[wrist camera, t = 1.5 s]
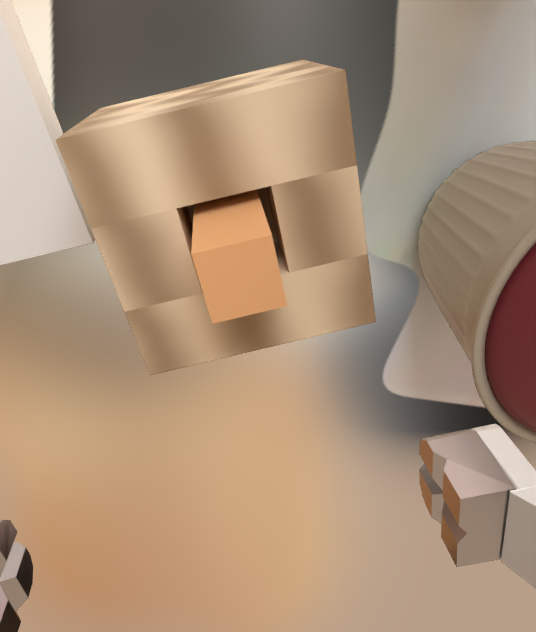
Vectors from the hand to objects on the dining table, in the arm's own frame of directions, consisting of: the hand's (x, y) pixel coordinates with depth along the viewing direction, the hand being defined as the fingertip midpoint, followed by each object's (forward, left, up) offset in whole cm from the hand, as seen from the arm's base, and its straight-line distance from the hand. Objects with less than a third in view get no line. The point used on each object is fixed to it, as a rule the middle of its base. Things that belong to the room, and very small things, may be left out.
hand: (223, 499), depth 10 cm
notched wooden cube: (-1, +2, -31) cm, 31 cm away
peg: (-1, +2, -24) cm, 24 cm away
